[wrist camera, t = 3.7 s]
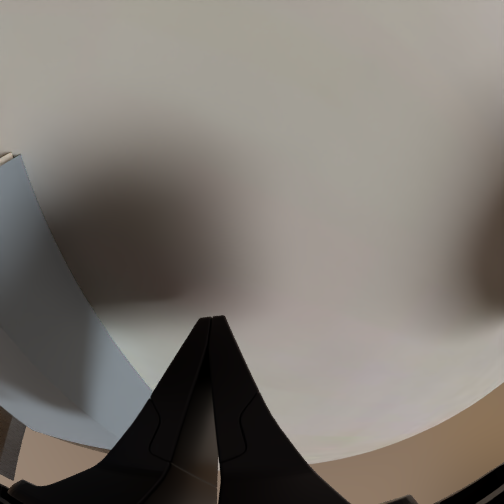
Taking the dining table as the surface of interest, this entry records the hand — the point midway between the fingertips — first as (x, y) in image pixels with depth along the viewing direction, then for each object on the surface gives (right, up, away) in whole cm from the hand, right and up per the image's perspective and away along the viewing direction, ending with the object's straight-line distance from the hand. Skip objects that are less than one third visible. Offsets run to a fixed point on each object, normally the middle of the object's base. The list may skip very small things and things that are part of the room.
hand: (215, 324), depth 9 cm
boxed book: (-10, -1, +2) cm, 10 cm away
